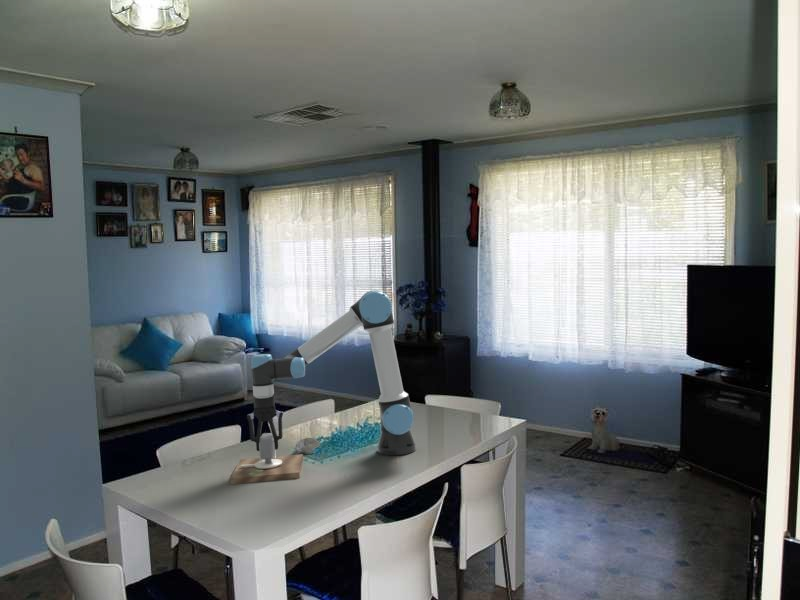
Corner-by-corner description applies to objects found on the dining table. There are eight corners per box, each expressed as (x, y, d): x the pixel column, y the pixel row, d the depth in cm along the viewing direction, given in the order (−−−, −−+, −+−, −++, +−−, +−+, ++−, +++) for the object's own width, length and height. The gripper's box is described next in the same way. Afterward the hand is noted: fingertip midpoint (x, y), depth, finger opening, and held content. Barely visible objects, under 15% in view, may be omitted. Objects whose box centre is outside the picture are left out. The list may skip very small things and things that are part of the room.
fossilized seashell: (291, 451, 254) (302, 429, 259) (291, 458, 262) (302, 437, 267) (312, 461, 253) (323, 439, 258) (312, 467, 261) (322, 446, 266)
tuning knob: (283, 459, 241) (281, 432, 240) (280, 467, 231) (279, 438, 230) (243, 463, 239) (241, 435, 239) (239, 471, 229) (237, 441, 229)
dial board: (303, 459, 248) (303, 453, 248) (299, 477, 224) (299, 471, 224) (241, 464, 246) (240, 459, 246) (230, 484, 222) (230, 477, 222)
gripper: (288, 392, 239) (292, 454, 240) (241, 396, 237) (246, 458, 238) (286, 396, 231) (290, 459, 232) (238, 399, 230) (243, 463, 231)
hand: (268, 458), depth 235 cm, fingers closed on tuning knob, 4 cm apart
